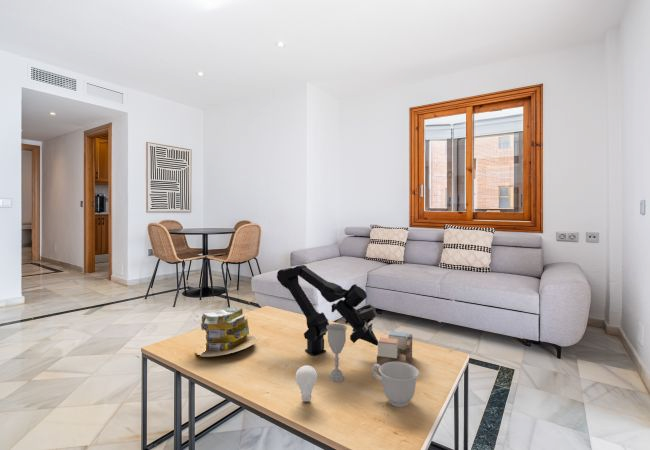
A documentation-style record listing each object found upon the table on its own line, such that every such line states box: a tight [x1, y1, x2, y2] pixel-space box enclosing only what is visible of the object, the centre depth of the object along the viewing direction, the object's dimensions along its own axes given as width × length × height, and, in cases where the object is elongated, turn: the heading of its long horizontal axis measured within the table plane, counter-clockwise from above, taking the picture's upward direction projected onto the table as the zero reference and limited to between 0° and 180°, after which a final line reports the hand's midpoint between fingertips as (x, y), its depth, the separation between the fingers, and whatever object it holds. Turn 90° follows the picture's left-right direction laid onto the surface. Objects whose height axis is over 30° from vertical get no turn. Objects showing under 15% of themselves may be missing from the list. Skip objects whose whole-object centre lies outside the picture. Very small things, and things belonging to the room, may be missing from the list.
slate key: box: [387, 330, 409, 351], centre depth 135 cm, size 7×4×6 cm, turn 72°
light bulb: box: [295, 364, 318, 403], centre depth 104 cm, size 7×7×11 cm
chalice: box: [326, 323, 348, 382], centre depth 119 cm, size 7×7×18 cm
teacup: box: [371, 362, 420, 408], centre depth 105 cm, size 12×15×10 cm
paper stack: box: [199, 306, 258, 358], centre depth 144 cm, size 25×25×17 cm
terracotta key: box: [377, 337, 398, 358], centre depth 128 cm, size 7×4×6 cm, turn 72°
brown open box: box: [376, 333, 413, 366], centre depth 131 cm, size 12×13×10 cm
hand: (378, 344), depth 129 cm, fingers closed
